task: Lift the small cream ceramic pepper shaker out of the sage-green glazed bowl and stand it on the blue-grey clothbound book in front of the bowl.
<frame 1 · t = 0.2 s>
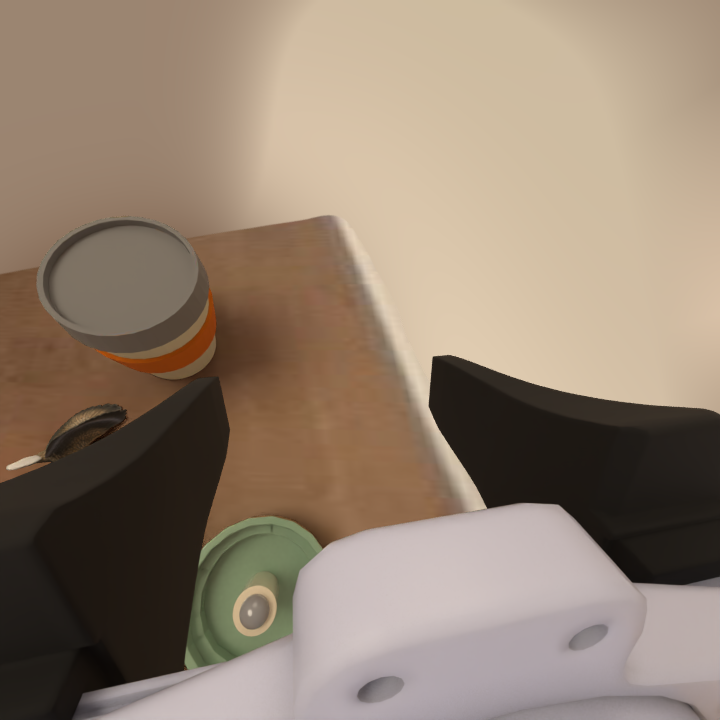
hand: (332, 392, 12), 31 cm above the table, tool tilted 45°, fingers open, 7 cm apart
bowl: (262, 590, 34), on the table
shaker: (261, 591, 34), resting on bowl
eagle figurine: (94, 447, 37), on the table
reusable coffee cup: (178, 346, 42), on the table
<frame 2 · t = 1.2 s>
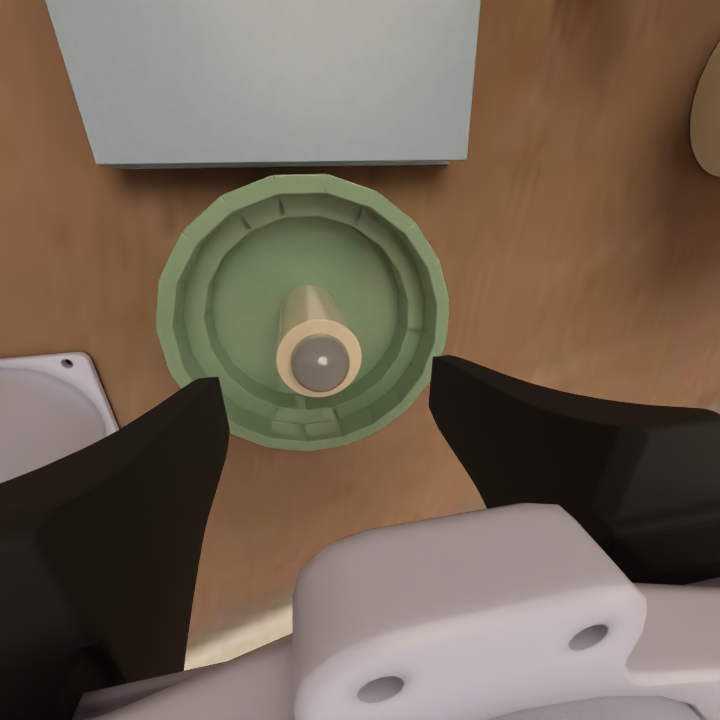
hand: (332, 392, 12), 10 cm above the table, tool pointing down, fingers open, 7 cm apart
bowl: (309, 312, 20), on the table
book: (282, 19, 15), on the table
shaker: (310, 315, 20), resting on bowl
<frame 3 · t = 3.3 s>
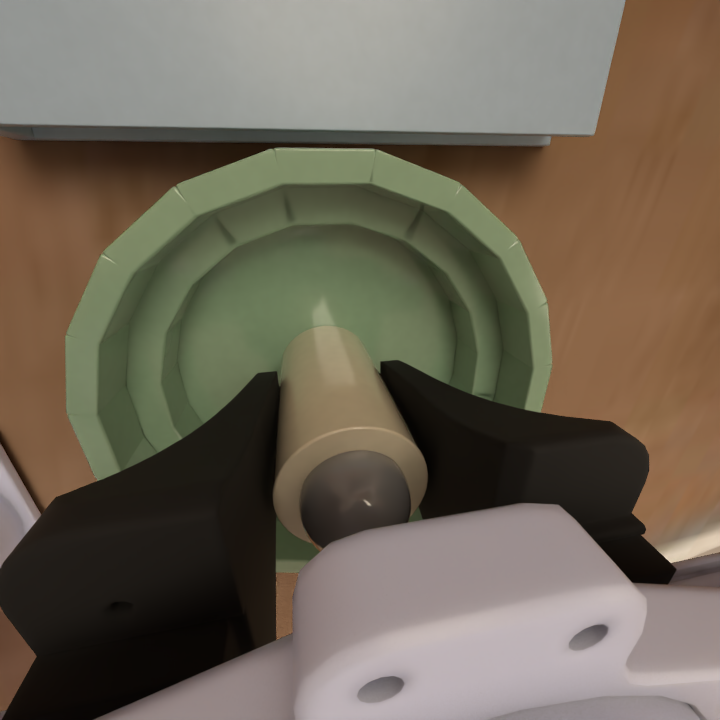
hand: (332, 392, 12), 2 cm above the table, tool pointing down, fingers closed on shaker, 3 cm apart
bowl: (326, 362, 14), on the table
shaker: (326, 368, 13), resting on bowl, touching gripper
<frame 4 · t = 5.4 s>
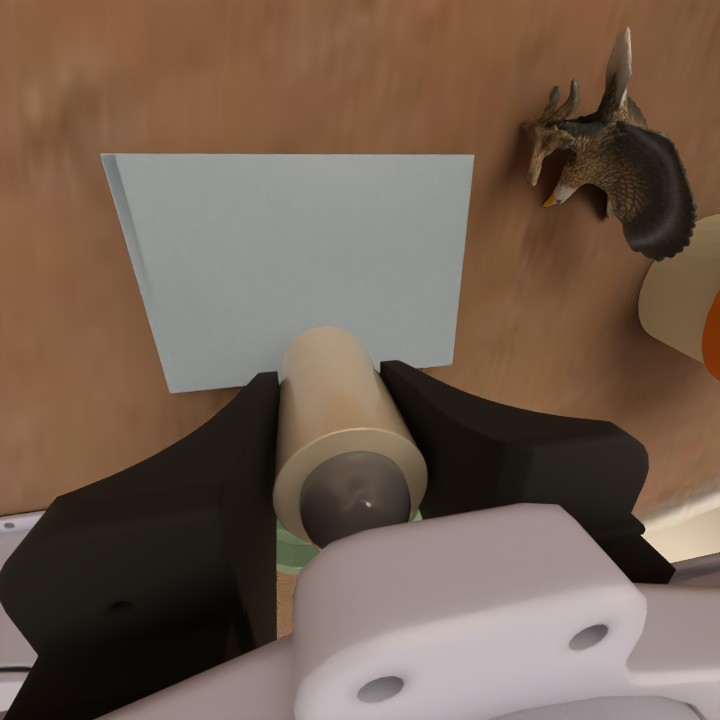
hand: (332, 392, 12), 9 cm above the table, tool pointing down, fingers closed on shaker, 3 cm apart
bowl: (324, 456, 24), on the table
book: (310, 273, 19), on the table
shaker: (326, 368, 13), point 8 cm above the table, touching gripper
eagle figurine: (566, 170, 19), on the table
reusable coffee cup: (692, 281, 24), on the table
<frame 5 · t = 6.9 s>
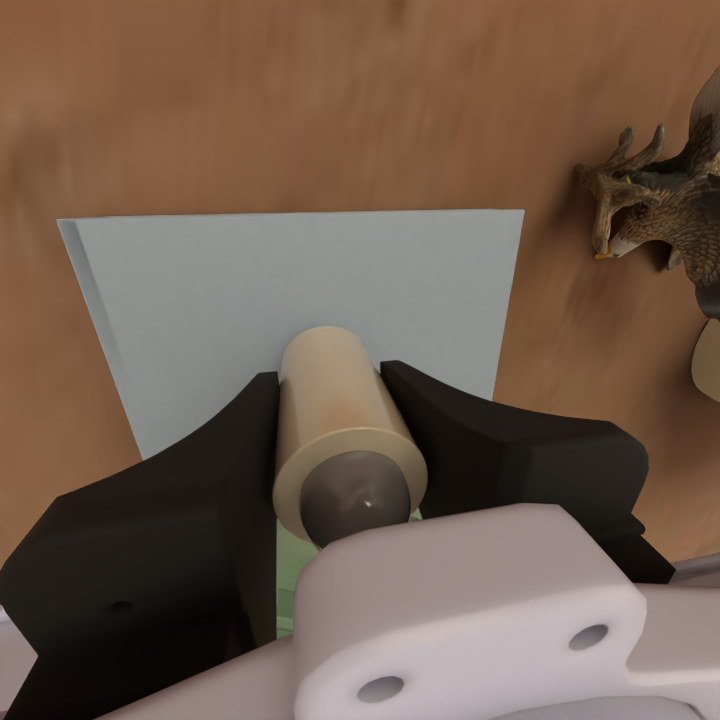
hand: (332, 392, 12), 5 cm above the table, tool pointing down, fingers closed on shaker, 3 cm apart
bowl: (333, 531, 21), on the table
book: (320, 339, 16), on the table
shaker: (326, 368, 13), point 3 cm above the table, touching gripper
eagle figurine: (623, 217, 16), on the table
when the fingers open (4 cm above the table, at t = 7.6 s): shaker stays where it is, resting on book.
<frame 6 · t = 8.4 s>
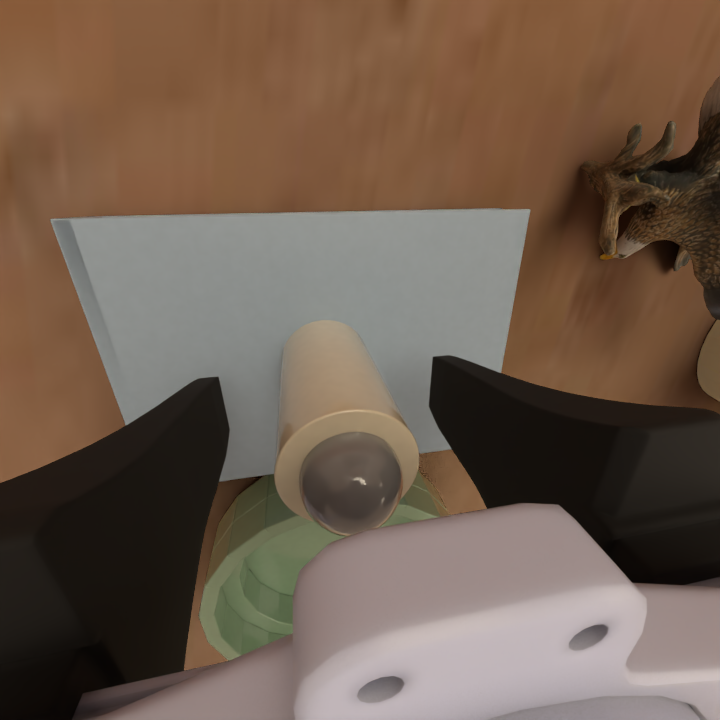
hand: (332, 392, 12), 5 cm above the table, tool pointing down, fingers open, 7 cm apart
bowl: (334, 534, 21), on the table
book: (321, 341, 16), on the table
shaker: (325, 360, 14), point 2 cm above the table, touching book
eagle figurine: (629, 217, 16), on the table
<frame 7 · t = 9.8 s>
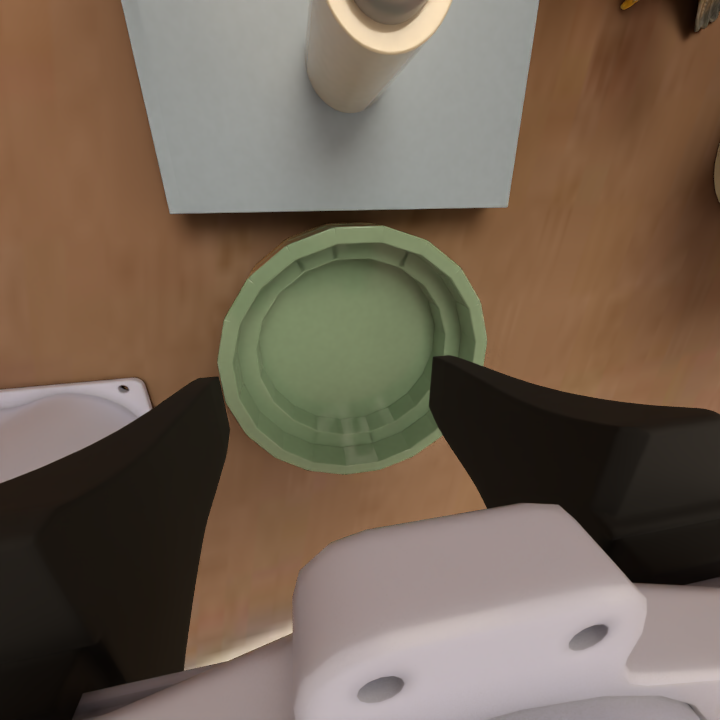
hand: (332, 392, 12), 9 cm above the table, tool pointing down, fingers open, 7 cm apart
bowl: (349, 341, 21), on the table
book: (341, 78, 16), on the table
shaker: (348, 60, 14), point 2 cm above the table, touching book
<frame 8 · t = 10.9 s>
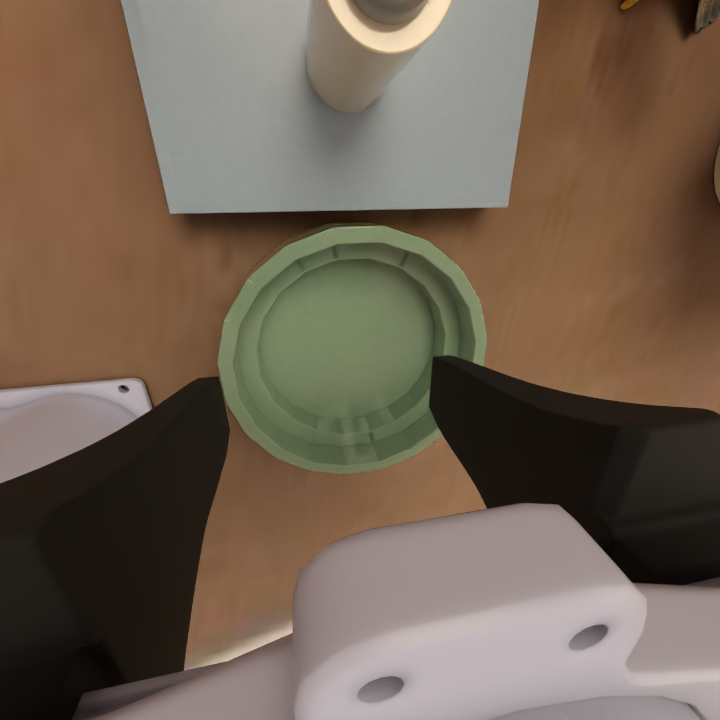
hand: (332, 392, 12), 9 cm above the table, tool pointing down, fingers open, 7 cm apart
bowl: (349, 341, 21), on the table
book: (341, 78, 16), on the table
shaker: (348, 60, 14), point 2 cm above the table, touching book
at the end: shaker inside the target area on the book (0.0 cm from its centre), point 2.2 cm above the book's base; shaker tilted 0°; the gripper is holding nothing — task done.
